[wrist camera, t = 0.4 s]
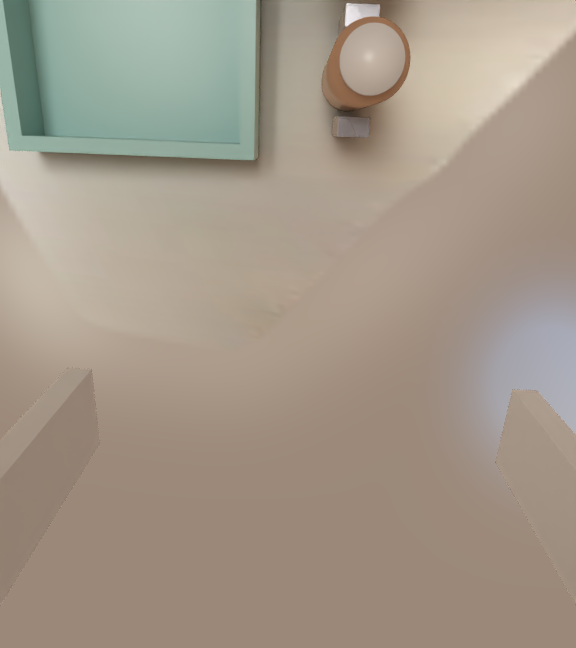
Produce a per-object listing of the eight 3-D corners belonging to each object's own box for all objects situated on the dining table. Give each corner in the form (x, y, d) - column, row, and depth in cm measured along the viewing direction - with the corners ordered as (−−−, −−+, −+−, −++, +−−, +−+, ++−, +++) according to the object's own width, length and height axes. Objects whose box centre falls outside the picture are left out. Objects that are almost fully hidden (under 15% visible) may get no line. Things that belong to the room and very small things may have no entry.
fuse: (323, 49, 36) (334, 11, 25) (379, 51, 36) (418, 14, 24) (319, 110, 38) (329, 102, 26) (374, 112, 38) (408, 105, 26)
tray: (0, -129, 33) (-38, -162, 29) (262, -120, 33) (258, -151, 29) (37, 148, 39) (9, 150, 36) (258, 157, 39) (254, 160, 35)
